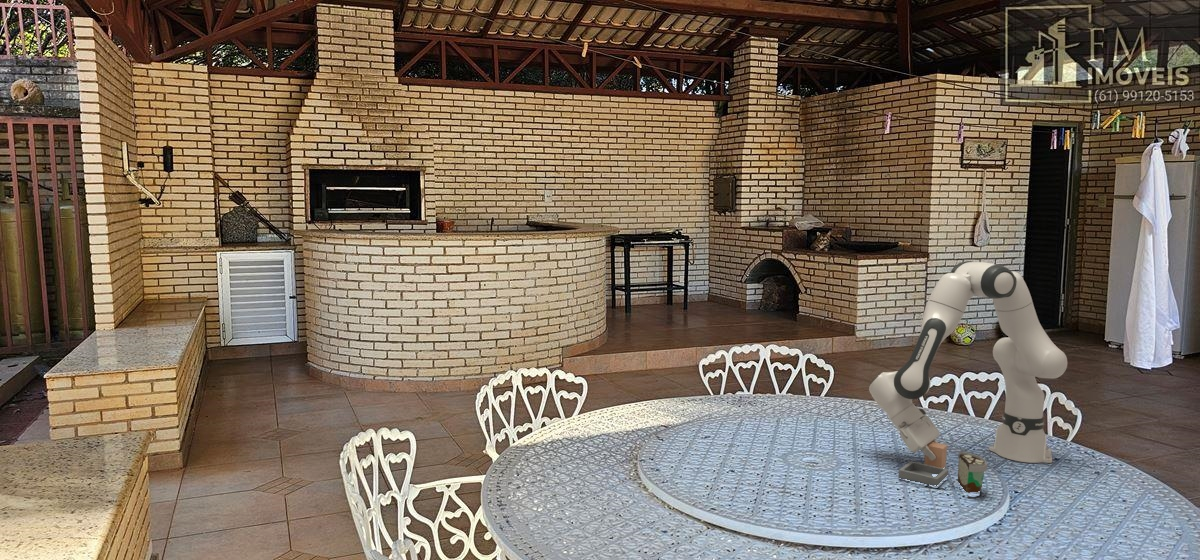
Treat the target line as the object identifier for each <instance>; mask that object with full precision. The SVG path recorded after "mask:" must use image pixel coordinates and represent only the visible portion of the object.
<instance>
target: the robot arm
mask: <svg viewBox="0 0 1200 560" xmlns="http://www.w3.org/2000/svg"><path fill="white" fill-rule="evenodd" d="M973 297H980V298H981V297H982V298H989V299H992V302H993V307H994V310H995V313H996V317H997V319H998V320H997V321H998V323H999V324H998V325H999V326H1000V327H999V328H1000V329H1001V331H1002V332H1003V333H1004V335H1006V336H1008V337H1001V338H999V339H998V340H997V341H996V343H995V344H994V346H993V348H992V356H993V359H994V361H996V363H997V364H998V366H999V368H1000V369H1001V372H1002V377H1003V380H1004V383H1005V385H1004V386H1005V405H1004V411H1003V412H1002V416H1001V417H1002V419H1001V420H1002V423H1001V424H1000V425H998V426H997V427H996V431H995V432H996V433H995V439H994V444H993V445H990V446H989V447H988V450H989V451H991V452H993V453H995V454H996V455H998V456H1000V457H1001V458H1004V459H1008V460H1012V461H1015V462H1022V463H1030V464H1031V463H1033V464H1037V463H1044V464H1051V463H1052V464H1053V456H1052V450H1051V448H1050V447H1049V446H1048V445H1047V438H1048V437H1047V436H1046V433H1045V431H1044V426H1045V417H1044V406H1045V405H1044V404H1045V393H1044V391H1043V389H1042V388H1041V387H1040V385H1039V384H1038V382H1037V379H1036V378H1040V379H1058V378H1059V377H1060V378H1061V376H1062V375H1063V374H1064V373H1065V372H1066V370H1067V368H1068V358H1067V355H1066V353H1065V352H1064V351H1062V350H1061V349H1060V348H1058V346H1056V344H1054V342H1053V341H1052V340H1051V338H1050V337H1049V335H1048V334H1047V332H1046V331H1045V330H1044V328H1043V326H1042V325H1041V323H1040V320H1039V318H1038V315H1037V312H1036V309H1035V306H1034V302H1033V299H1032V296H1031V293H1030V290H1029V288H1028V286H1027V283H1026V281H1025V280H1024V278H1023V276H1022V274H1020V273H1019V272H1017V271H1014V270H1011V269H1009V268H1007V267H1006V266H1004V265H1000V264H996V263H995V264H994V263H991V262H985V261H973V260H972V261H971V260H969V261H968V260H967V261H961V262H959V263H957V264H955V266H954V267H953V268H952V269H951V271H950V272H948V273H945V274H943V275H942V276H941V277H940V278H939V280H938V281H937V282H936V284H935V286H934V287H933V289H932V291H931V294H930V296H929V298H928V300H927V302H926V304H925V308H924V311H923V315H922V321H921V327H920V333H919V336H918V339H917V341H916V343H915V346H914V348H913V351H912V353H911V355H910V357H909V359H908V361H907V362H906V363H905V364H904V365H903V366H902V367H900V369H898V370H896V371H887V372H886V371H883V372H882V371H881V373H878V374H877V375H876V376H875V377H874V378H873V379H872V381H871V382H870V383H869V387H868V392H869V393H870V395H871V397H872V398H873V400H874V402H875V403H876V404H877V405H878V406H879V408H880V409H881V410H883V411H884V412H885V413H886V415H887V416H888V419H889V421H891V423H892V424H893V426H894V427H895V429H897V430H898V432H899V436H900V438H901V440H902V442H903V443H904V444H905V445H906V447H907V448H908V450H909V451H910V452H911V453H913V454H916V453H917V452H919V451H920V452H921V453H922V454H924V456H925V455H926V456H928V457H929V459H930V460H931V461H933V460H934V459H936V458H937V456H936V455H935V453H934V452H932V451H931V450H930V449H929V447H928V446H927V444H929V443H930V442H935V443H939V442H938V441H937V439H936V438H938V437H940V436H941V433H940V431H939V429H938V427H937V426H936V425H935V423H934V422H933V421H932V419H930V416H927V414H928V413H927V411H926V410H925V409H924V408H922V407H921V408H920V407H917V406H915V404H914V403H913V400H917V399H920V398H922V397H923V396H925V395H926V394H928V392H929V390H930V388H931V382H932V381H931V378H930V376H929V374H930V368H931V365H932V363H933V362H934V359H935V357H936V354H937V352H938V350H939V348H940V346H941V344H942V343H943V342H944V340H945V339H947V337H949V336H950V335H951V334H952V333H954V331H955V330H956V329H957V327H958V325H959V324H960V322H961V320H962V318H963V316H964V313H965V311H966V308H967V305H968V303H969V300H971V298H973Z"/></svg>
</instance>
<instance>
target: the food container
mask: <svg viewBox="0 0 1200 560" xmlns="http://www.w3.org/2000/svg"><path fill="white" fill-rule="evenodd" d="M957 458H958V463H957V464H958V465H957V481H958V482H959V483H960V485H961V486H962V487H963V489H964V490H965V491H966V492H968V493H970V492H978V491H980V490H981V491H982V486H983V482H984V476H985V474H984V473H985V472H986V471H987V470H988V464H987V461H986V459H985V458H984V457H982V456H979V455H977V454H974V453H971V452H965V451H958V456H957Z"/></svg>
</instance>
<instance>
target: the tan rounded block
mask: <svg viewBox="0 0 1200 560" xmlns="http://www.w3.org/2000/svg"><path fill="white" fill-rule="evenodd" d="M927 446H928V447H929V449H930V450H931V451H932V452H934V453H935V455H936V456H937V458H936V459H934V460H933V461H931V460H930V459H929V457H928V456H926V455H925V454H924V462H923V464H926V465H930V466H934V467H939V468H944V467H946V468H947V466H946V465H947V454H948V444H943V443H941V442H940V443H939V442H938V443H935V442H930V443H929V444H927Z"/></svg>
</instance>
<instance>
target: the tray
mask: <svg viewBox="0 0 1200 560" xmlns="http://www.w3.org/2000/svg"><path fill="white" fill-rule="evenodd" d="M932 474H938V475H937V476H936V477H933V476H932ZM947 475H948V476H949V469H948V468H945V469H943V468H939V467H934V466H930V465H926V464H924V463H922V462H917V461H912V460H910V461H909V462H907V463H906V464H904V466H902V467H901V468H900V469H898V477H897V478H901V479H907V480H910V481H915V482H920V483H924V484H930V485H936V486H937V485H938V484H939V483H940V482H941V481H942V480H943V479H944V478H945V477H946V476H947Z"/></svg>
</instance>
